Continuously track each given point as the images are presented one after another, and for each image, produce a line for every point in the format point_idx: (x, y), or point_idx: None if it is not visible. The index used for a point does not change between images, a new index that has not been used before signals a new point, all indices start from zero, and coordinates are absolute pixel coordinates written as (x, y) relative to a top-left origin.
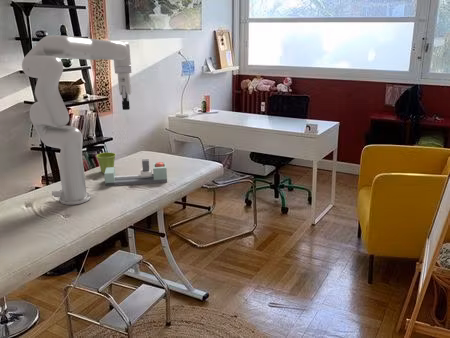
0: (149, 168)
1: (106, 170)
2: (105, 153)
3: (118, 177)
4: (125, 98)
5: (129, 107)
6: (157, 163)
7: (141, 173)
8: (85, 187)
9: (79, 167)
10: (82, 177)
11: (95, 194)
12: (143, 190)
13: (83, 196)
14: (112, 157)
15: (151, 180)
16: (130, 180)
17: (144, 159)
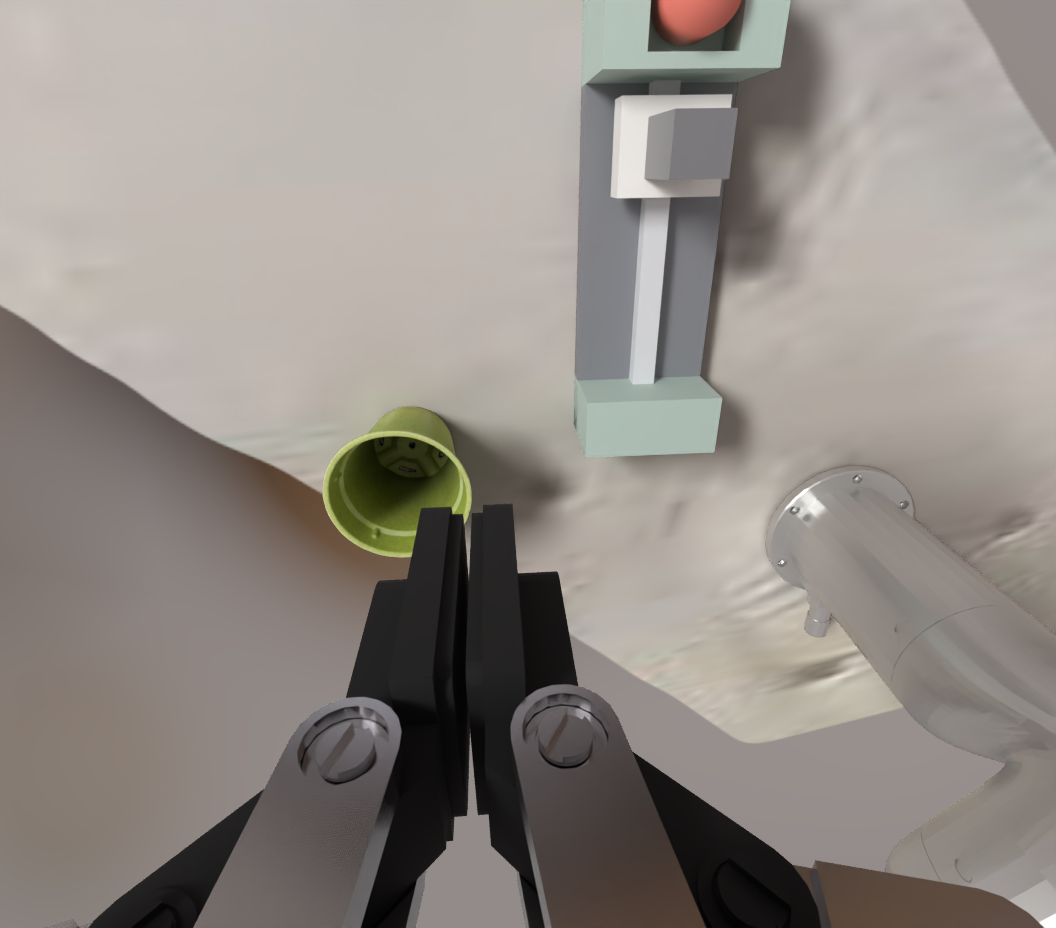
0: (626, 116)
1: (651, 447)
2: (335, 508)
3: (654, 358)
4: (846, 880)
5: (488, 525)
6: (704, 12)
7: (718, 188)
8: (890, 513)
9: (1021, 607)
10: (956, 556)
11: (801, 451)
12: (849, 170)
13: (890, 500)
14: (439, 446)
15: (732, 105)
16: (695, 273)
17: (676, 155)
